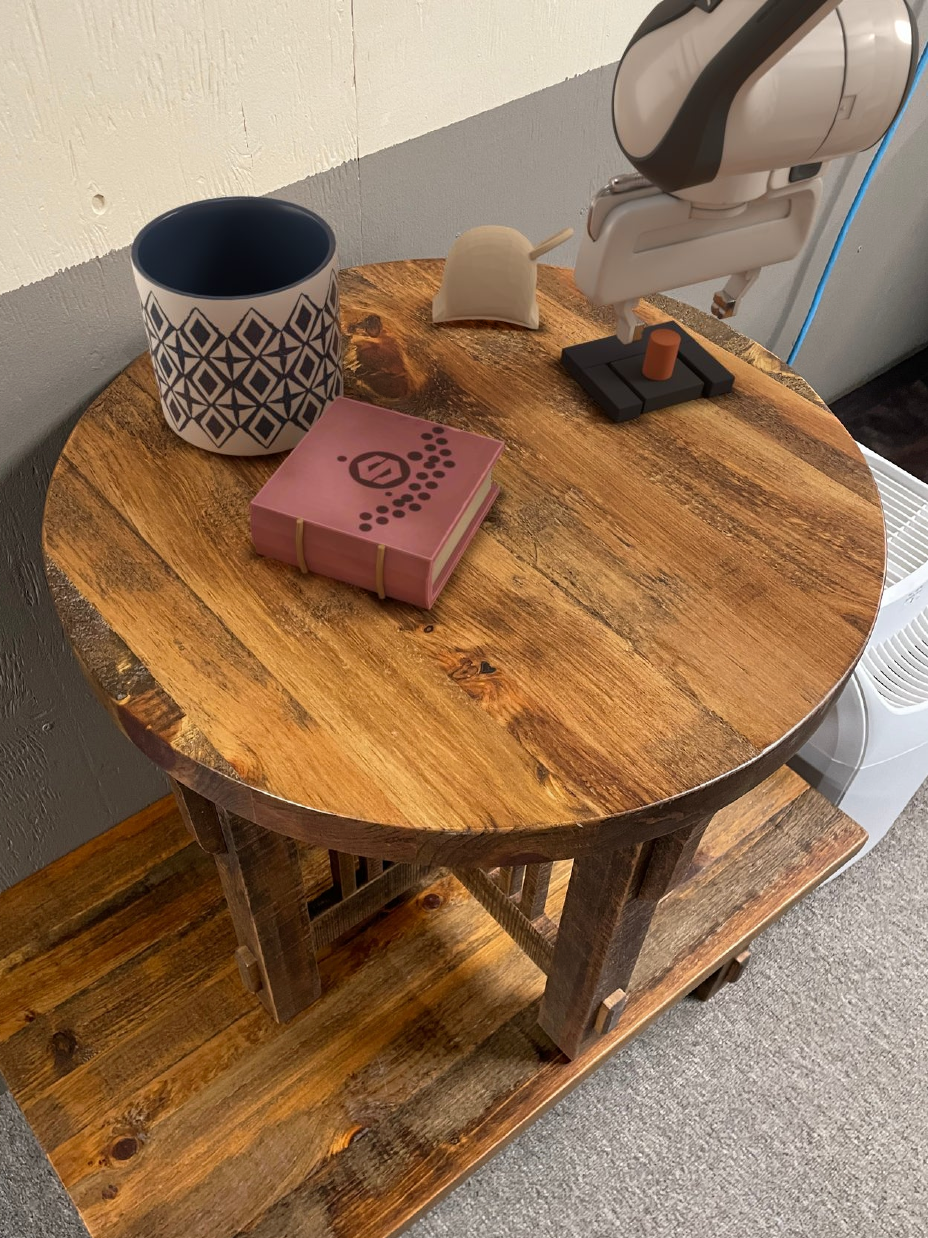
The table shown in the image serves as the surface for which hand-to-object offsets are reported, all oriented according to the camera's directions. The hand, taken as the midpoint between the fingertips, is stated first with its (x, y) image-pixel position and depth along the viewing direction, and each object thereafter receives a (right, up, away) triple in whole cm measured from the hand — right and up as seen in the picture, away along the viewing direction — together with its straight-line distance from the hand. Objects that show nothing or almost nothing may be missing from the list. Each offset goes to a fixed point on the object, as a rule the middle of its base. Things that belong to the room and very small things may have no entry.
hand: (676, 326), depth 85 cm
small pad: (-1, -4, +5) cm, 6 cm away
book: (-25, -18, -6) cm, 32 cm away
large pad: (-1, -2, +6) cm, 6 cm away
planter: (-36, -6, +3) cm, 37 cm away
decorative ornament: (-20, +5, +12) cm, 24 cm away
